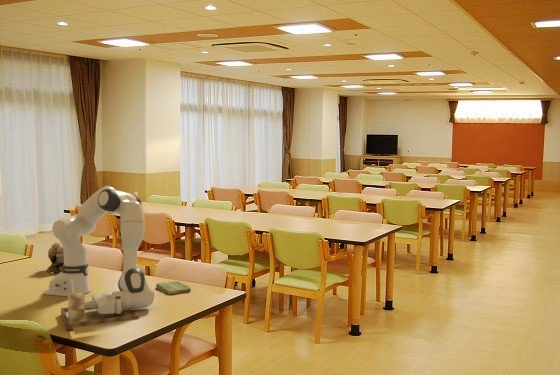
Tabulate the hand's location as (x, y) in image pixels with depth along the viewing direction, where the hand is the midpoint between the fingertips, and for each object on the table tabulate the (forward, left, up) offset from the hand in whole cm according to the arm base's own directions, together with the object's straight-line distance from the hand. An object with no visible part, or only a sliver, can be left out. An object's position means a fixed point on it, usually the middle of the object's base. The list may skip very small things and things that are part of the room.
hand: (83, 305), depth 246 cm
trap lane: (+6, +3, -7) cm, 9 cm away
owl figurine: (-51, +86, -7) cm, 101 cm away
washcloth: (+26, +52, -7) cm, 58 cm away
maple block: (-3, -2, -5) cm, 6 cm away
